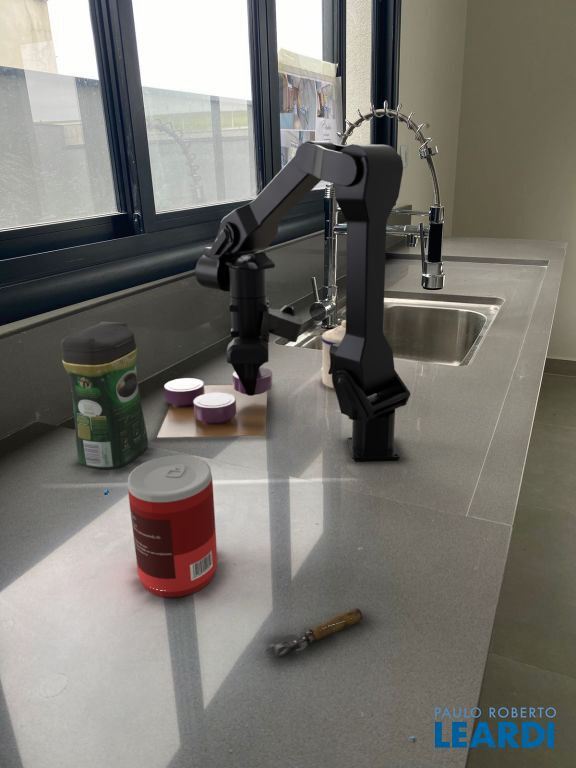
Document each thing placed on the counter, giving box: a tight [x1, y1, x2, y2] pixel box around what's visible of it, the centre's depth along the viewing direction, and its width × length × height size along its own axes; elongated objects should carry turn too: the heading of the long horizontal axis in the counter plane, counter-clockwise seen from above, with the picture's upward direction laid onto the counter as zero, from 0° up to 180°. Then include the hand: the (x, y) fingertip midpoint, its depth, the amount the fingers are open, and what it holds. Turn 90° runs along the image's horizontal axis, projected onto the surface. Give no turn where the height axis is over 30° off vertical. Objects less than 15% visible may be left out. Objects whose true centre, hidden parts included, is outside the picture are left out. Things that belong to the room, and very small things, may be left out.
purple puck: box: [232, 366, 274, 395], centre depth 101 cm, size 7×7×3 cm
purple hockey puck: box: [163, 377, 205, 406], centre depth 101 cm, size 7×7×3 cm
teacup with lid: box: [320, 319, 346, 389], centre depth 109 cm, size 12×9×12 cm
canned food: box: [127, 454, 218, 598], centre depth 58 cm, size 8×8×11 cm
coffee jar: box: [60, 321, 149, 470], centre depth 81 cm, size 10×8×19 cm
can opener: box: [265, 608, 364, 658], centre depth 51 cm, size 9×2×1 cm, turn 113°
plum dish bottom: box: [193, 393, 236, 424], centre depth 95 cm, size 7×7×3 cm
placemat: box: [156, 384, 268, 439], centre depth 99 cm, size 22×16×1 cm
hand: (251, 388), depth 101 cm, fingers closed on purple puck, 6 cm apart
